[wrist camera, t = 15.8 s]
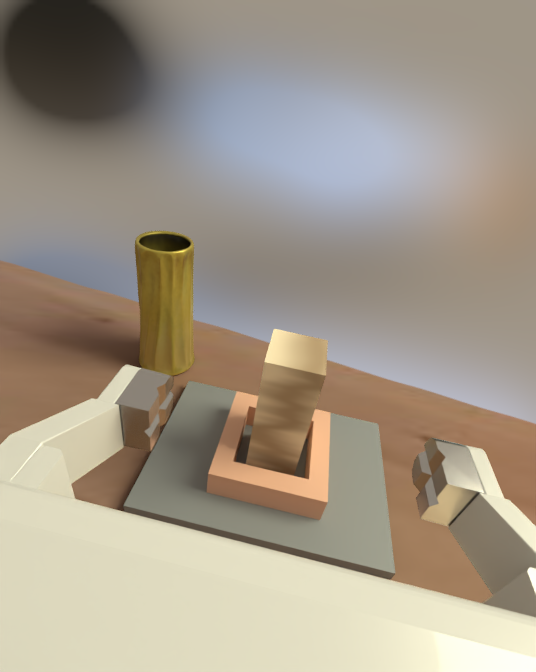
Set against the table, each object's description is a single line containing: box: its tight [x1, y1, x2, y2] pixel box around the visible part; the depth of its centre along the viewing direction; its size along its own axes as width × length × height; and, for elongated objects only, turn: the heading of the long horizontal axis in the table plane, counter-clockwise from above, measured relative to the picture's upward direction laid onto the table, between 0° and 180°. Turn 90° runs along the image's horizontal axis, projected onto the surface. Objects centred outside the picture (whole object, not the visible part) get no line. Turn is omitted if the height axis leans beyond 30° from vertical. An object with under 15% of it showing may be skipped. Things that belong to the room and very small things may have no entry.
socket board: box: [123, 381, 395, 579], centre depth 31 cm, size 20×14×4 cm
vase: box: [135, 231, 194, 376], centre depth 37 cm, size 6×6×14 cm
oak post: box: [246, 329, 328, 476], centre depth 28 cm, size 4×4×12 cm
